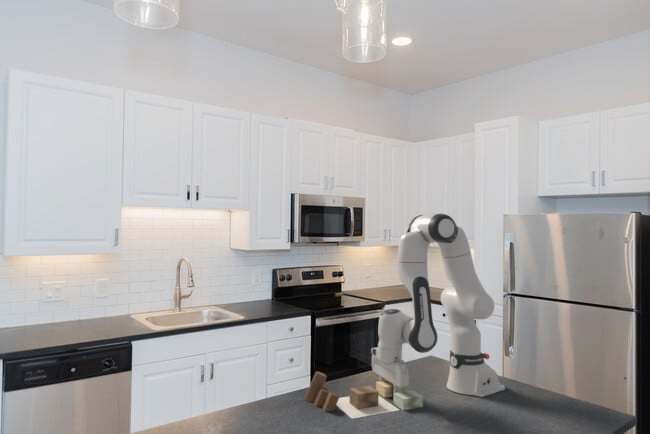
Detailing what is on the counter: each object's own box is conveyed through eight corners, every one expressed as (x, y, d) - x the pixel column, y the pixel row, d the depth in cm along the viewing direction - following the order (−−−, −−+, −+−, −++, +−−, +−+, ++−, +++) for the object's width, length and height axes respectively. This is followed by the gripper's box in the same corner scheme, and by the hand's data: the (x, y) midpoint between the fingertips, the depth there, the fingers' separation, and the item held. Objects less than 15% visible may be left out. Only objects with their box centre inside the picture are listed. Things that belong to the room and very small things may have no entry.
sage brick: (412, 404, 158) (412, 390, 158) (422, 410, 152) (423, 396, 153) (393, 407, 155) (393, 393, 155) (403, 414, 149) (403, 399, 149)
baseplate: (374, 395, 165) (374, 392, 165) (399, 413, 149) (399, 410, 149) (329, 402, 158) (329, 399, 158) (351, 422, 142) (351, 418, 142)
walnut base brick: (369, 399, 158) (369, 385, 158) (378, 406, 152) (378, 391, 153) (349, 403, 155) (349, 388, 155) (357, 409, 149) (357, 394, 149)
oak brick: (394, 392, 169) (394, 379, 169) (403, 398, 164) (403, 384, 164) (375, 395, 166) (376, 382, 166) (384, 401, 160) (384, 387, 160)
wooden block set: (334, 421, 148) (347, 392, 149) (311, 413, 146) (324, 384, 147) (320, 398, 166) (332, 372, 167) (300, 391, 163) (311, 365, 164)
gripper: (413, 361, 157) (413, 400, 156) (383, 346, 175) (382, 381, 175) (398, 362, 154) (397, 403, 154) (369, 347, 173) (368, 383, 173)
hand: (389, 391), depth 165 cm, fingers open, 6 cm apart
